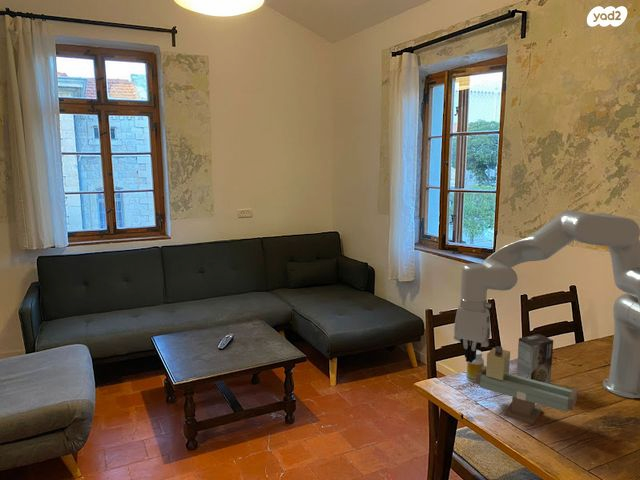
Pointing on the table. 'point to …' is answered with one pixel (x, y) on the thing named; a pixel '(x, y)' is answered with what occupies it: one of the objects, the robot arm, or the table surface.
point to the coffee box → (535, 358)
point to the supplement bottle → (474, 366)
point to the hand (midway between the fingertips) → (470, 360)
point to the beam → (528, 395)
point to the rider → (498, 363)
